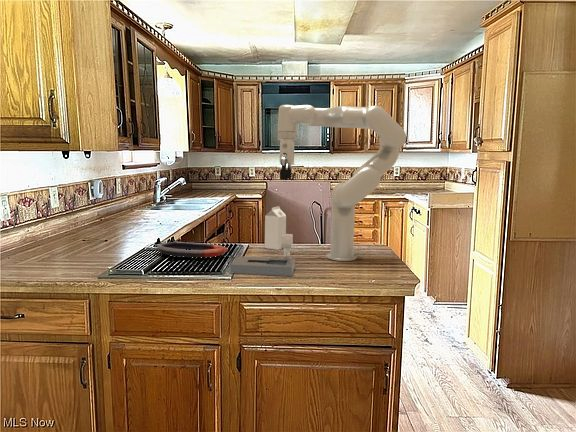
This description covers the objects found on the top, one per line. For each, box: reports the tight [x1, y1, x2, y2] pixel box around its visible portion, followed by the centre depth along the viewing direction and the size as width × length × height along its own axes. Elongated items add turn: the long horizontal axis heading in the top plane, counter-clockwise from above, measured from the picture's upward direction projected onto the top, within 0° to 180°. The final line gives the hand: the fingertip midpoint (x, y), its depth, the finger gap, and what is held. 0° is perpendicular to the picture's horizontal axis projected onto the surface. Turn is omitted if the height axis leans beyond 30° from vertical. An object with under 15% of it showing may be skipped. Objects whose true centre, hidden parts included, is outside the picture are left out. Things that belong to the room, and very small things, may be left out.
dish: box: [156, 240, 229, 257], centre depth 179 cm, size 16×31×5 cm, turn 75°
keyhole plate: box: [229, 255, 296, 277], centre depth 159 cm, size 22×13×3 cm, turn 84°
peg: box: [281, 233, 294, 259], centre depth 172 cm, size 5×5×11 cm
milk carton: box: [264, 205, 287, 251], centre depth 196 cm, size 7×7×19 cm
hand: (285, 179), depth 176 cm, fingers open, 9 cm apart
